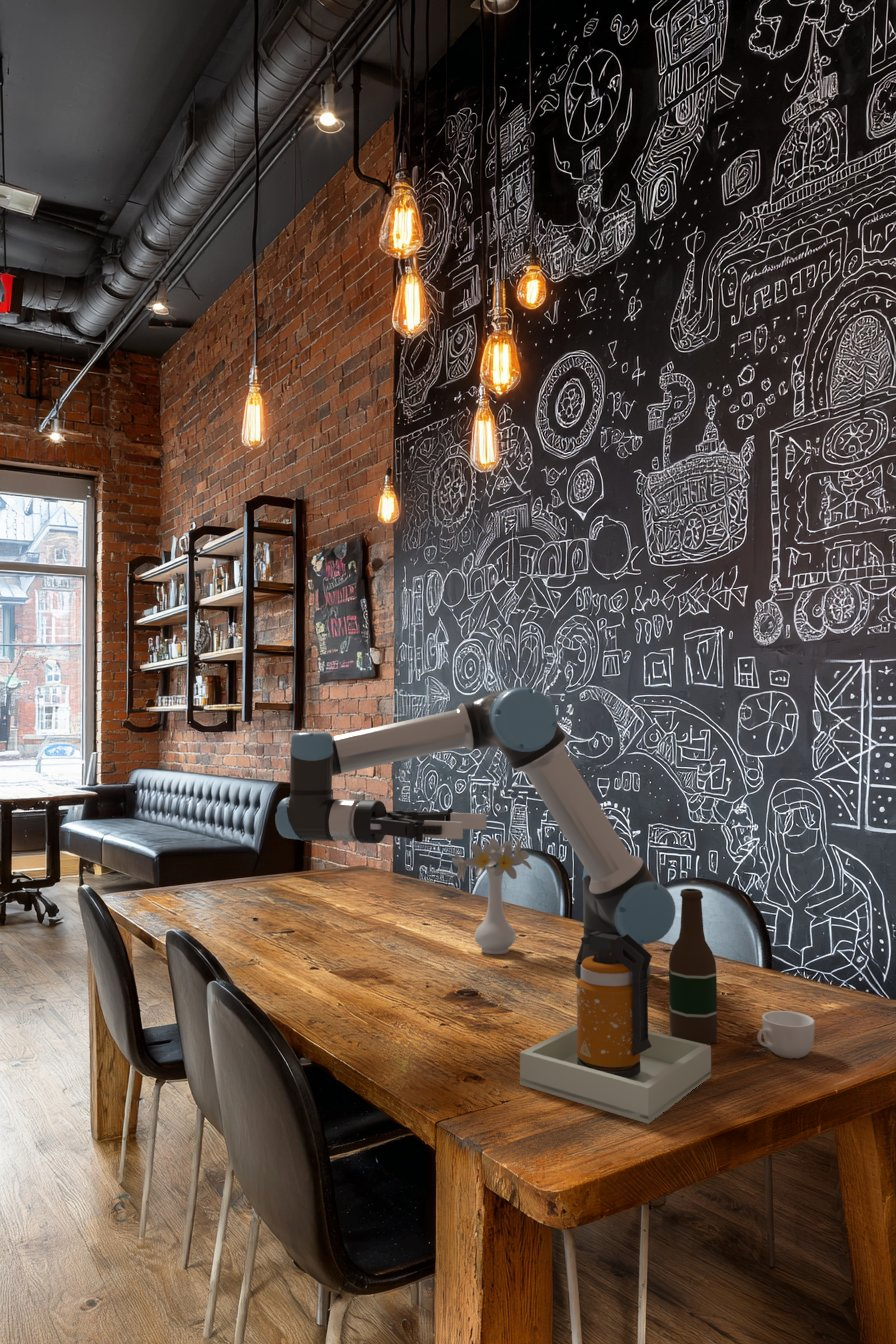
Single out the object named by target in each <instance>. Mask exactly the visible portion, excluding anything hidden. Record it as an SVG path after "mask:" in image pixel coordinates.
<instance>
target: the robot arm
mask: <svg viewBox="0 0 896 1344" xmlns="http://www.w3.org/2000/svg"><path fill="white" fill-rule="evenodd" d="M566 740H567V736H566V734H565V733H564V730H563V729H562V728H561V726H560V725H559V723H558V714H557V711H556V708H555V706H554V704H553V702H552V701H551V699H549V697H547V695H545V694H544V693H542V692H541V691H539V690H536V689H534V688H532V687H528V686H514V687H510V688H505V689H501V690H497V691H495V692H493V693H490V694H488V695H486V696H482V697H480V698H477V699H475V700H471V701H466V702H462V703H459V704H458V706H457V708H456V709H453V710H449V711H444V712H440V713H435V714H430V715H425V716H420V717H416V718H411V719H407V720H403V721H398V722H392V723H388V724H384V725H378V726H373V727H369V728H365V729H361V730H357V731H356V730H355V731H351V732H347V733H342V734H338V735H337V734H336V735H333V736H332V735H331V734H330V733H329V732H295V733H293V734H292V736H291V739H290V741H291V742H290V748H289V753H290V790H289V791H290V793H289V796H288V797H285V798H283V799H281V800H280V801H279V803H278V805H277V806H276V810H277V811H276V813H275V815H274V816H275V819H274V820H275V827H276V830H277V831H278V833H279V835H280V836H281V837H282V838H284V839H285V838H286V839H291V840H300V841H303V842H304V841H305V842H306V841H315V842H342V845H343V846H347V845H348V844H349V843H358V842H359V843H360V844H374V845H375V844H377V845H378V844H380V843H381V842H382V841H383V840H384V838H385V836H391V837H397V838H404V839H410V840H413V839H415V842H417V843H422V842H423V838H426V839H430V838H431V839H451V840H453V839H454V840H462V839H464V836H463V835H464V834H463V833H464V830H481V831H482V830H483V831H484V830H485V831H486V830H487V822H488V821H487V813H474V812H473V813H472V812H471V813H469V812H454V811H453V810H454V809H453V808H447V811H411V810H410V811H408V810H407V811H402V810H393V811H387V807H386V805H385V804H384V802H382V801H381V800H375V799H374V800H372V799H369V800H368V799H363V800H360V799H352V798H351V799H350V798H349V799H348V798H336V799H335V798H332V797H333V789H332V787H333V776H337V775H341V774H345V773H350V772H354V771H359V770H363V769H367V768H368V769H369V768H373V767H378V766H382V765H386V764H392V763H396V762H400V761H404V760H409V759H414V758H418V757H419V758H420V757H422V756H427V755H433V754H438V753H440V752H441V753H442V752H446V751H451V750H455V749H459V748H463V747H464V748H466V749H468V750H469V751H474V750H479V749H485V748H486V749H487V748H499V749H500V750H501V751H502V753H503V755H504V756H505V758H506V760H507V761H508V762H509V764H510V765H511V767H512V769H513V770H514V771H517V772H522V773H524V774H525V775H526V776H527V777H528V779H529V781H530V783H531V785H533V788H534V789H535V790H536V792H537V794H538V795H539V797H540V799H541V800H542V802H543V803H544V805H545V806H546V808H547V810H548V812H549V813H550V815H551V816H552V818H553V819H554V821H555V822H556V824H557V826H558V827H559V829H560V831H561V832H562V833H563V836H564V837H565V838H566V841H567V842H568V843H569V845H570V847H571V848H572V850H573V851H574V853H575V854H576V856H577V858H578V859H579V861H580V862H581V864H582V866H583V875H582V879H581V880H582V891H583V892H582V898H583V899H582V900H583V902H582V903H583V905H582V906H583V907H582V909H583V911H582V913H583V936H582V937H585V936H588V934H589V933H592V932H595V931H599V932H602V933H604V934H610V935H616V936H622V937H623V936H625V935H626V934H628V935H629V936H630V937H632V938H633V939H634V940H635V941H636V942H637V943H638V944H639V945H641V946H642V947H643V948H644V949H645V946H644V945H651V944H652V943H656V942H658V941H660V940H661V939H663V938H664V937H665V936H666V935H667V934H668V933H669V931H670V930H671V928H672V927H673V925H674V921H675V917H676V903H675V900H674V898H673V896H672V894H671V893H670V891H669V889H667V888H666V887H665V886H664V885H662V884H661V883H659V882H658V881H657V880H656V879H655V878H654V876H653V874H652V872H651V871H650V870H649V868H648V866H647V864H646V863H645V862H644V860H643V858H642V857H640V856H636V855H632V854H630V852H629V850H627V847H626V846H625V845H624V843H623V841H622V840H621V838H620V837H619V835H618V834H617V832H616V830H615V829H614V827H613V825H612V824H611V822H610V821H609V819H608V817H607V816H606V814H605V813H604V811H603V809H602V808H601V805H600V804H599V803H598V801H597V800H596V798H595V796H594V795H593V792H591V790H590V789H589V787H588V785H587V783H586V782H585V780H584V778H583V777H582V775H581V774H580V772H579V771H578V769H577V767H576V766H575V764H574V763H573V761H572V759H571V758H570V756H569V754H568V752H567V750H565V746H566V742H567V741H566ZM630 946H631V945H630ZM631 947H632V946H631ZM632 948H633V947H632ZM633 949H634V948H633ZM634 950H635V949H634ZM645 950H646V949H645ZM635 951H636V950H635ZM595 953H597V951H592V950H589V944H586V945H585V944H583V943H582V942H581V943H580V946H579V949H578V953H577V955H576V956H577V957H576V958H575V962H574V975H575V977H577V978H578V979H580V978H581V964H582V962H583V960H584V959H585V958H587V957H590V956H594V954H595ZM597 955H598V953H597ZM623 956H624V955H623ZM641 956H642V955H641ZM642 957H643V956H642ZM643 958H644V957H643ZM650 964H651V963H650ZM650 964H649V967H648V970H647V978H648V980H647V981H648V982H649V981H650V980H651V965H650Z"/></svg>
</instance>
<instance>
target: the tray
mask: <svg viewBox="0 0 896 1344" xmlns="http://www.w3.org/2000/svg"><path fill="white" fill-rule="evenodd" d="M648 1039H649V1041H650V1043H651V1046H652V1047H650V1048H648V1049H647V1050H645V1051H643V1052H641V1053H640V1073H639V1074H638V1075H636V1076H634V1077H632V1078H628V1079H627V1078H624V1077H620V1076H617V1075H613V1074H609V1073H606V1072H602V1071H598V1070H595V1069H591V1068H587V1067H584V1066H580V1065H577V1058H578V1055H577V1024H574V1025H573V1026H571V1027H569V1028H566V1029H565V1030H562V1031H560V1032H559V1033H557V1034H554V1035H552V1036H551V1037H549V1038H547V1039H544V1040H542V1041H540V1042H537V1043H536V1044H534V1045H532V1046H530V1047H528V1048H526V1049H524V1050H521V1051H520V1052H519V1085H520V1086H523V1087H526V1088H529V1089H533V1090H537V1091H539V1092H542V1093H545V1094H546V1093H547V1094H550V1095H553V1096H555V1097H559V1098H561V1099H566V1100H569V1101H572V1102H576V1103H579V1104H582V1105H585V1106H589V1107H592V1108H596V1109H598V1110H602V1111H605V1112H608V1113H610V1114H611V1113H612V1114H615V1115H618V1116H620V1117H625V1118H627V1119H631V1120H634V1121H637V1122H639V1123H640V1122H641V1123H644V1124H647V1125H648V1124H650V1123H651V1122H653V1121H654V1120H656V1119H657V1118H659V1117H660V1116H661V1115H663V1114H664V1113H665V1112H667V1111H668V1110H669V1109H671V1108H672V1107H673V1106H675V1105H676V1104H677V1103H678V1102H679V1101H681V1100H683V1099H684V1098H685V1097H687V1096H688V1095H689V1094H691V1093H692V1092H693V1091H694V1090H693V1089H695V1088H696V1087H697V1088H699V1087H700V1086H701V1085H702V1084H701V1083H703V1082H704V1081H705V1082H707V1081H708V1080H710V1079H711V1078H712V1046H711V1044H708V1045H706V1044H702V1043H698V1042H693V1041H689V1040H685V1039H681V1038H676V1037H672V1035H667V1034H663V1033H660V1032H659V1033H658V1032H654V1031H651V1030H648ZM710 1077H711V1078H710ZM707 1079H708V1080H707ZM706 1080H707V1081H706ZM705 1082H704V1083H705ZM704 1083H703V1084H704ZM700 1084H701V1085H700ZM699 1085H700V1086H699ZM698 1086H699V1087H698ZM697 1088H696V1089H697ZM696 1089H695V1090H696ZM692 1090H693V1091H692ZM691 1091H692V1092H691ZM690 1092H691V1093H690ZM688 1093H689V1094H688ZM687 1094H688V1095H687ZM686 1095H687V1096H686ZM684 1096H685V1097H684ZM683 1097H684V1098H683ZM682 1098H683V1099H682ZM675 1103H676V1104H675ZM663 1112H664V1113H663ZM655 1118H656V1119H655Z"/></svg>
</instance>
